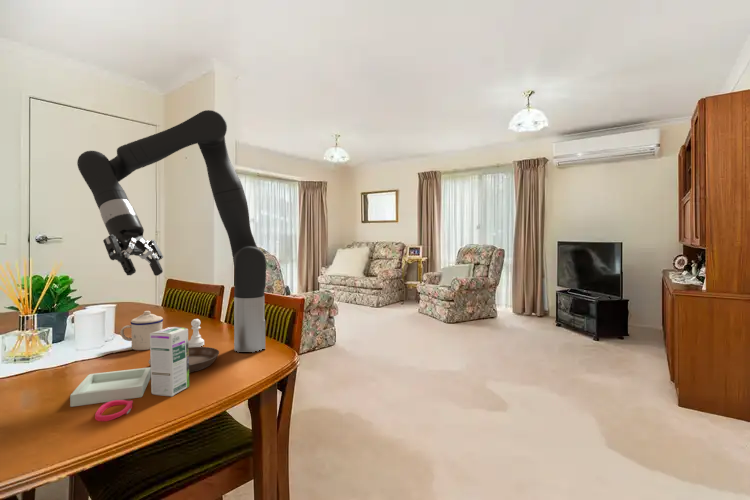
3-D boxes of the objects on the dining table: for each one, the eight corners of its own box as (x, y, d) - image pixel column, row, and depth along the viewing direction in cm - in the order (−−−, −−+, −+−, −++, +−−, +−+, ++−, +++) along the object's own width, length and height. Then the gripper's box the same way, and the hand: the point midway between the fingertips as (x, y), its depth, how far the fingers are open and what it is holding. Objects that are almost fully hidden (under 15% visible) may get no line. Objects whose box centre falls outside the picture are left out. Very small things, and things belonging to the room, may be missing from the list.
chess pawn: (184, 346, 123) (184, 319, 122) (200, 342, 126) (200, 316, 126) (191, 349, 119) (191, 321, 119) (207, 345, 123) (206, 319, 123)
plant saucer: (132, 372, 99) (132, 361, 99) (187, 353, 116) (187, 343, 116) (183, 382, 93) (182, 370, 93) (232, 360, 110) (232, 350, 110)
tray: (150, 376, 96) (150, 367, 96) (142, 396, 84) (141, 386, 84) (89, 384, 90) (89, 374, 90) (70, 406, 79) (70, 395, 78)
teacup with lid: (166, 341, 127) (165, 308, 127) (159, 349, 119) (159, 313, 118) (125, 344, 123) (124, 309, 123) (116, 352, 115) (115, 315, 114)
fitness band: (125, 420, 74) (125, 412, 74) (90, 425, 72) (90, 417, 72) (135, 402, 82) (135, 396, 82) (104, 406, 80) (104, 399, 79)
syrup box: (172, 397, 84) (171, 333, 83) (150, 394, 85) (149, 331, 85) (189, 387, 90) (189, 327, 89) (168, 384, 91) (168, 326, 90)
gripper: (107, 208, 89) (133, 265, 87) (153, 217, 103) (177, 267, 101) (84, 224, 91) (109, 282, 88) (133, 231, 104) (156, 281, 102)
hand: (146, 274), depth 94 cm, fingers open, 8 cm apart
